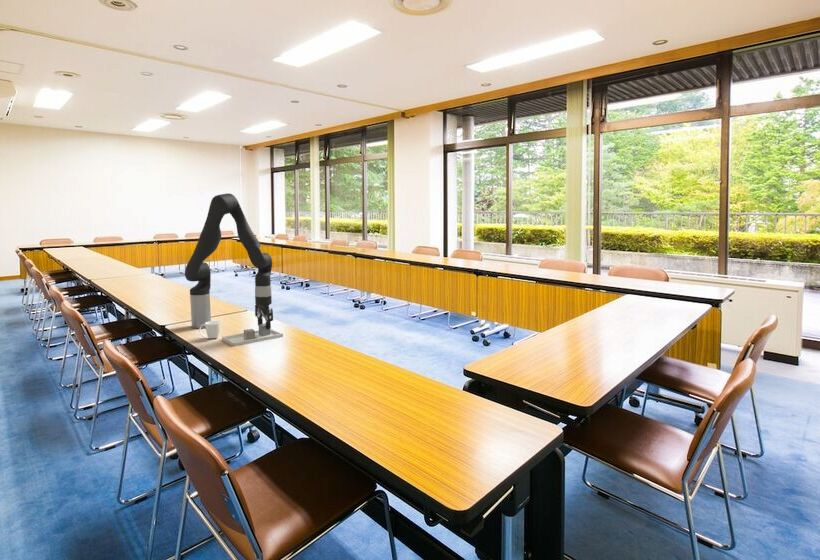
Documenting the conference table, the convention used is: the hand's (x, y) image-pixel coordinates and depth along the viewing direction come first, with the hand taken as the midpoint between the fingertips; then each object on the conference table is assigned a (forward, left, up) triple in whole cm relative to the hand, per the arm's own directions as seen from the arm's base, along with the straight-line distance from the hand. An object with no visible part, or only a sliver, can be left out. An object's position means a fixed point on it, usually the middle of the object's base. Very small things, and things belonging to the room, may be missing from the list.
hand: (264, 327), depth 225 cm
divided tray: (+2, -7, -4) cm, 8 cm away
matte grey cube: (0, 0, -4) cm, 4 cm away
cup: (-10, -22, -4) cm, 25 cm away
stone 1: (+6, -10, -4) cm, 12 cm away
